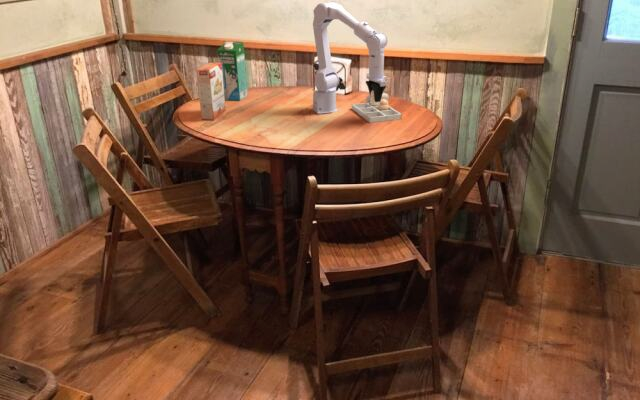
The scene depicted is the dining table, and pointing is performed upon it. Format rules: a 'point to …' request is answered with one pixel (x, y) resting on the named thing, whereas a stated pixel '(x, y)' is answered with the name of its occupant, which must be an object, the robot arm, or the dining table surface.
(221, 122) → the dining table surface
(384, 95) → the donut
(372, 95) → the cream egg
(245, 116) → the dining table surface
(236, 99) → the milk carton
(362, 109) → the egg carton
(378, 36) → the robot arm
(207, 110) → the cracker box
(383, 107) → the brown egg
